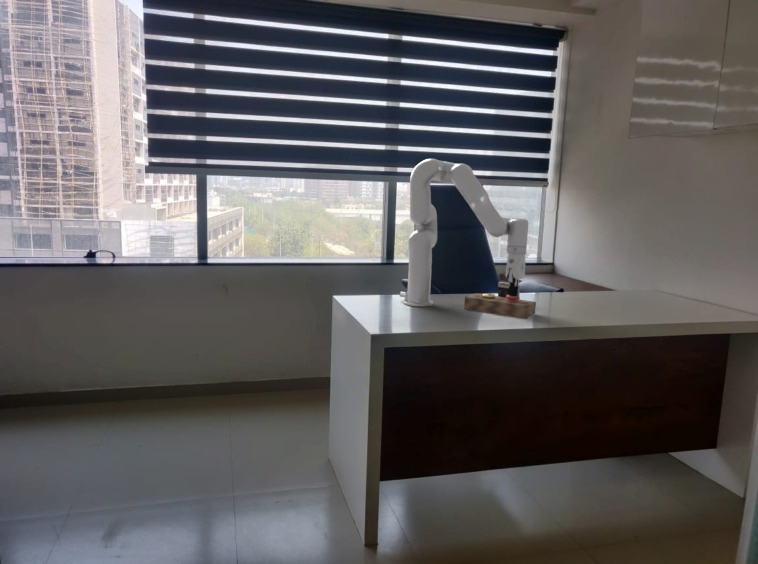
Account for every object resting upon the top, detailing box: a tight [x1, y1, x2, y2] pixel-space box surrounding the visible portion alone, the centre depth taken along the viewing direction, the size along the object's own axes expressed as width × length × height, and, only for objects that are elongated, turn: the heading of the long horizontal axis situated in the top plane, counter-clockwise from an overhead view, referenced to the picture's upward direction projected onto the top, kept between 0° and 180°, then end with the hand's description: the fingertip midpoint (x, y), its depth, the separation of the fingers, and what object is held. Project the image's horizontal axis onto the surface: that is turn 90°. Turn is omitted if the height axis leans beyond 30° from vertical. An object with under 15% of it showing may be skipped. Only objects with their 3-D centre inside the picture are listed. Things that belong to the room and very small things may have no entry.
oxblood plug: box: [506, 295, 519, 303], centre depth 222 cm, size 5×5×6 cm
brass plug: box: [481, 292, 496, 299], centre depth 228 cm, size 5×5×6 cm
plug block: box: [463, 292, 537, 320], centre depth 225 cm, size 26×11×5 cm, turn 58°
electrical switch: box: [497, 281, 521, 300], centre depth 242 cm, size 9×5×9 cm, turn 57°
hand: (513, 295), depth 222 cm, fingers closed
